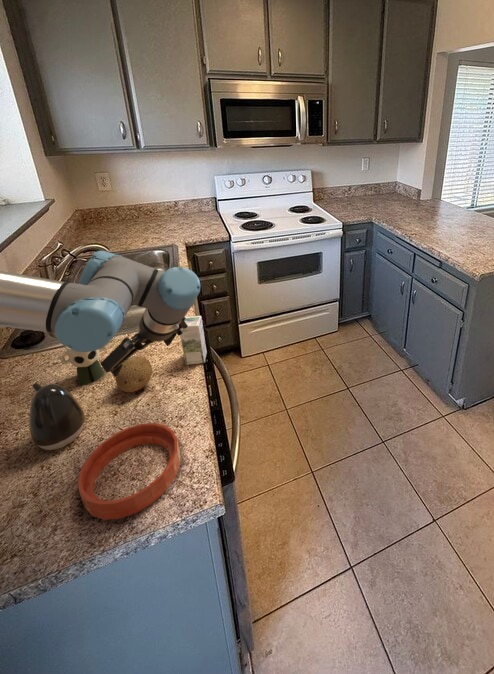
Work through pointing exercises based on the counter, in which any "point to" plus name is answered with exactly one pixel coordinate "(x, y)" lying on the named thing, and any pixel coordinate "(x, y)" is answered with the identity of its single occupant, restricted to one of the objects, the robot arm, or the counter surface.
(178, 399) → the counter surface
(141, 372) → the natural sponge
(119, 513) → the orange rubber ring
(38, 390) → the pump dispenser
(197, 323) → the syrup box
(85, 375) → the character mug
